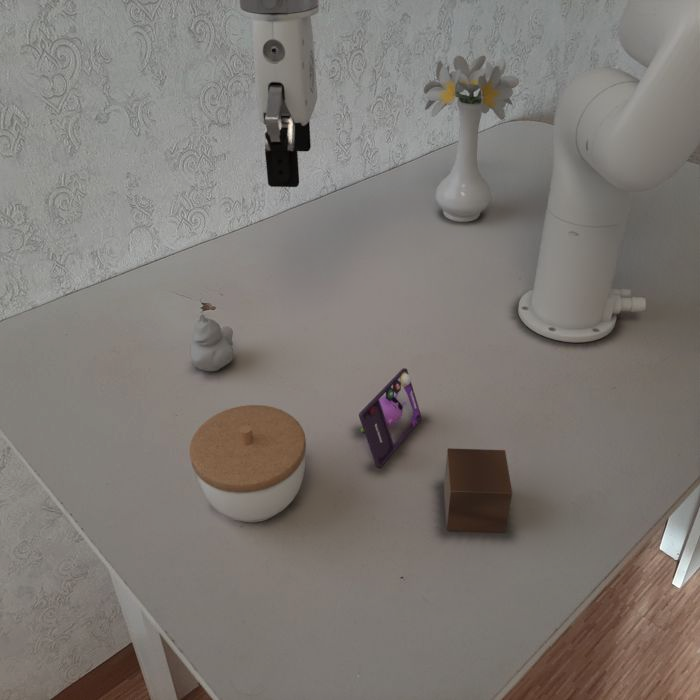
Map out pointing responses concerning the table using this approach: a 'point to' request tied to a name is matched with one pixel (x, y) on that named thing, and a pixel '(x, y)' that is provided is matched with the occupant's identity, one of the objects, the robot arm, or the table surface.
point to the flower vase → (468, 129)
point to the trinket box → (249, 461)
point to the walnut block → (477, 490)
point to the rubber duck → (211, 345)
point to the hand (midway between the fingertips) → (290, 167)
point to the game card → (388, 417)
